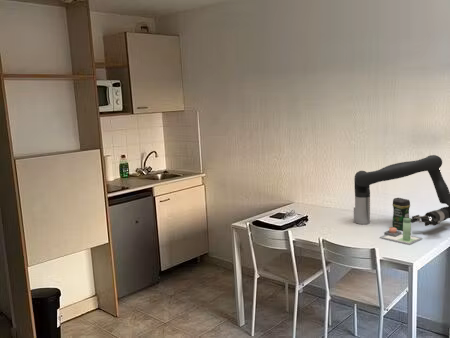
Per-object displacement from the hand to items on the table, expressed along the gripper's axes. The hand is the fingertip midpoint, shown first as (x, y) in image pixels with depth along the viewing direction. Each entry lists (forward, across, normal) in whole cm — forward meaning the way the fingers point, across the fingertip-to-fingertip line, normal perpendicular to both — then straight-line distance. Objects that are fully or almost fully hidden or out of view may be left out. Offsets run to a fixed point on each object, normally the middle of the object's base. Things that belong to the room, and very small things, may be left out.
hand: (418, 222), depth 251 cm
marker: (+11, 0, +8) cm, 13 cm away
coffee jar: (-8, -16, +9) cm, 20 cm away
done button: (+8, -11, +7) cm, 15 cm away
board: (+10, -5, +8) cm, 13 cm away
